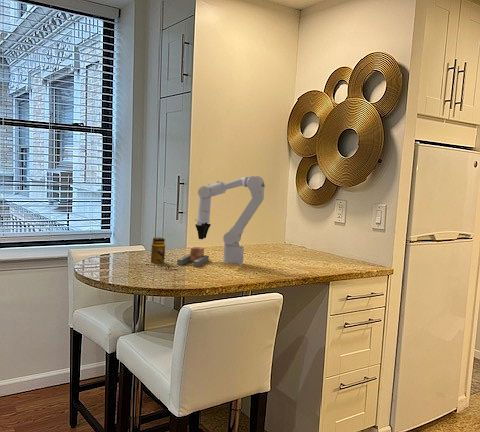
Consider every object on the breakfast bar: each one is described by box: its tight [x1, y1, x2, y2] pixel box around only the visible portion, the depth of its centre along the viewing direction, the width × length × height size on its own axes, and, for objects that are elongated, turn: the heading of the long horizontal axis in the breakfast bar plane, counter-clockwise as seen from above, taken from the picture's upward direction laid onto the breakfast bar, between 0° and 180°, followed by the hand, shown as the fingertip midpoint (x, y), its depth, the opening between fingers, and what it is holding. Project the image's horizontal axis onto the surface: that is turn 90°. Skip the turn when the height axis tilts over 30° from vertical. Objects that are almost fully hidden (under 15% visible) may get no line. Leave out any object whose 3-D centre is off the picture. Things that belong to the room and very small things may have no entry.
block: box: [190, 246, 205, 262], centre depth 229 cm, size 5×5×6 cm
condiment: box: [145, 237, 166, 267], centre depth 218 cm, size 7×8×12 cm
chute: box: [176, 253, 210, 268], centre depth 224 cm, size 10×18×3 cm, turn 168°
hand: (202, 238), depth 236 cm, fingers open, 4 cm apart
